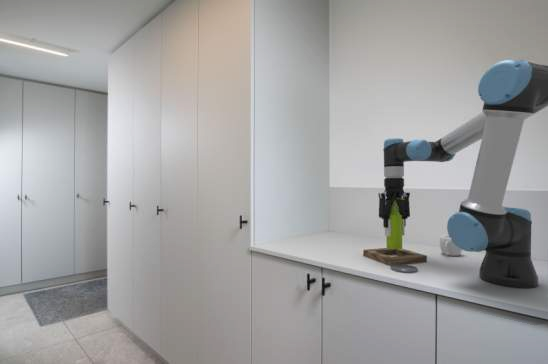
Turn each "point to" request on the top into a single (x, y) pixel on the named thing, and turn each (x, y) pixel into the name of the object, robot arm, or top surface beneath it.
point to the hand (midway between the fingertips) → (394, 235)
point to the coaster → (404, 268)
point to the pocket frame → (402, 257)
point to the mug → (449, 246)
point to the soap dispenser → (395, 228)
